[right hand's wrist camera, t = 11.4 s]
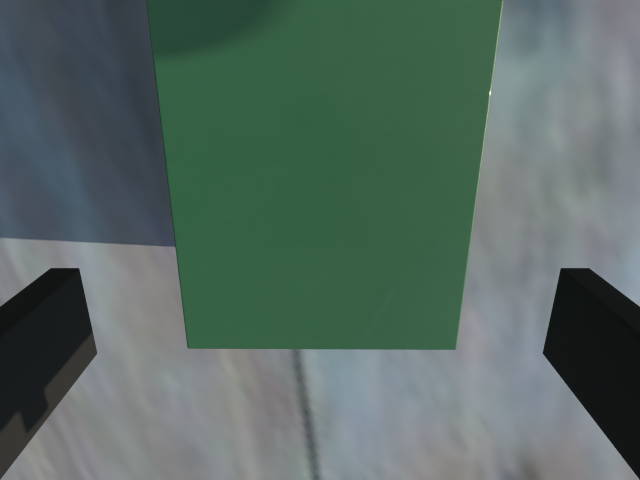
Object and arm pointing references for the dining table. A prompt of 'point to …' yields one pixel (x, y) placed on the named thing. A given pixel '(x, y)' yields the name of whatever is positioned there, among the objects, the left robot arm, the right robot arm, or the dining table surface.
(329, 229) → the cabinet
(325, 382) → the dining table surface
